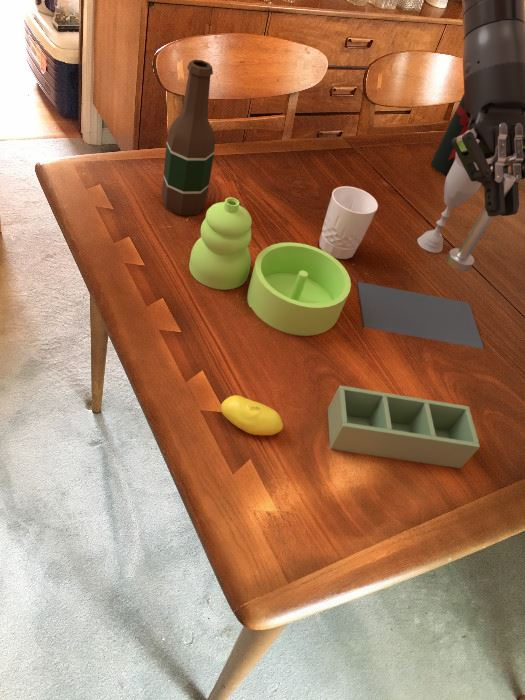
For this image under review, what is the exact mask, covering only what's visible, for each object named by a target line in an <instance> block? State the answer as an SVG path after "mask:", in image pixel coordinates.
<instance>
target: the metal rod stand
mask: <svg viewBox="0 0 525 700" xmlns="http://www.w3.org/2000/svg"><path fill="white" fill-rule="evenodd" d="M515 180H516V178H515V177H514V176H513V175H511V174H510V173H509V172H508V173H505V174H503V180H502V182H500V184H504V198H505V197H506V195H507V193H508V192H509V190H510V188H511V187H512V185H513V183H514V182H515ZM493 218H494V216H488V215H487V212H486V209H485V206H483V209H482V210H481V212H480V214H479V215H478V217H477V219H476V220H475V222H474V224H473V225H472V227H471V229H470V230H469V232H468V234H467V235H466V237H465V239H464V241H463V243H462V244H461V245H460V248H458V247H454V248H451V249H450V250H449V252H448V253H447V255H446V257H445V260H446V263H447V264H448V265H449V266H450V267H451V268H453V269H455V270H456V271H460V272H468V271H470V270H471V268H472V266H473V265H474V263H475V258H474V256H473V255H472V252H473V251H474V249H475V248H476V246H477V244H478V242H480V239H481V238H482V236H483V234H484V233H485V231H486V229H487V228H488V227H489V224H490V223H491V221H492V220H493Z"/></svg>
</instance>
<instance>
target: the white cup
mask: <svg viewBox="0 0 525 700" xmlns="http://www.w3.org/2000/svg"><path fill="white" fill-rule="evenodd" d="M378 208H379V203H378V201H377V200H376V199H375V197H374V196H373V195H372V194H370V193H369V192H367V191H365V190H363V189H361V188H359V187H354V186H349V185H348V186H347V185H344V186H338V187H336V188H334V189H333V190H332V192H331V197H330V200H329V203H328V206H327V210H326V213H325V217H324V222H323V223H322V229H321V233H320V236H319V240H318V244H319V245H318V246H319V248H320V250H322V251H324V252H326V253H328V254H330V255H331V256H333V257H334V258H335V259H336V260H348V259H350V258H351V259H352V258H353V257H354V256H355V254H356V252H357V250H358V249H359V246H360V245H361V243H362V241H363V239H364V237H365V235H366V233H367V231H368V229H369V227H370V226H371V223H372V221H373V220H374V217H375V214H376V213H377V211H378Z"/></svg>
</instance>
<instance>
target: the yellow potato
mask: <svg viewBox="0 0 525 700" xmlns="http://www.w3.org/2000/svg"><path fill="white" fill-rule="evenodd" d="M220 411H221V414H222V415H223V416H224V417H225V418H226V419H227V420H228V421H229V422H230V423H231V424H232V425H234V426H235V427H237V428H238V429H240V430H242V431H243V432H245V433H247V434H249V435H254V436H273V435H276V434H278V433H280V432H281V431H282V430H283V428H284V424H283V419H282V418H281V416H280V414H279V413H278V412H277V411H276V410H274V409H273V408H271V407H269V406H268V405H265V404H263V403H261V402H258V401H254V400H251V399H249V398H246V397H245V396H241V395H237V394H236V395H234V394H233V395H230V396H228V397H226V398H225V399H224V400H223V402H221V404H220Z"/></svg>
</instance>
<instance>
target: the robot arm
mask: <svg viewBox="0 0 525 700" xmlns="http://www.w3.org/2000/svg"><path fill="white" fill-rule="evenodd" d="M461 4H462V5H461V7H462V9H461V15H462V17H461V18H462V21H461V22H462V35H463V36H462V37H463V48H462V49H463V51H462V77H463V78H462V79H463V95H464V98H465V114H466V116H467V117H468V118H469V119H470V122H469V124H468V131H467V132H465V133H464V134H463V135H461V136H458V137H456V138H454V139H453V140H452V145H453V147H454V149H455V151H456V153H457V155H458V157H459V158H460V160H461V162H462V164H463V166H464V168H465V170H466V172H467V174H468V176H469V178H470V180H471V181H473V182H474V181H477V182H480V183H481V186H482V187H483V193H484V207H485V209H486V212H487V215H488V216H493V217H498V216H502V217H509V216H513V215H516V214H517V213H518V211H519V208H520V193H519V191H520V190H519V184H520V182H521V181H522V180H524V179H525V0H461ZM488 158H489V159H488ZM473 162H474V163H476V165H477V167H478V169H479V170H477V169H476V167H475V165H474V163H473ZM492 166H493V168H492V169H491V167H492ZM509 167H510V173H509ZM505 173H508V174H511V175H513V176H514V177H515V178H516V180H515V182H514V183H513V185H512V187H511V188H510V190H509V192H508V193H507V195H506V197H505V198H504V184H500V182H502V180H503V174H505Z"/></svg>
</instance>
